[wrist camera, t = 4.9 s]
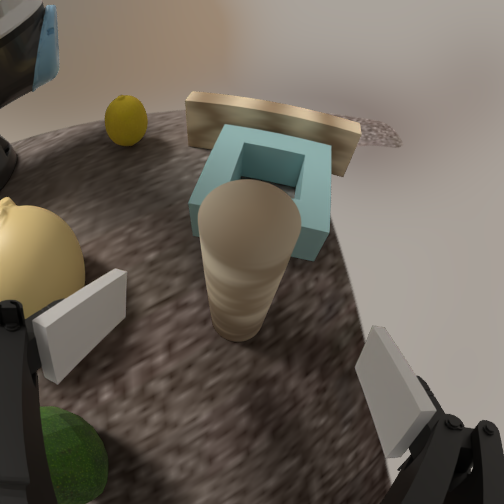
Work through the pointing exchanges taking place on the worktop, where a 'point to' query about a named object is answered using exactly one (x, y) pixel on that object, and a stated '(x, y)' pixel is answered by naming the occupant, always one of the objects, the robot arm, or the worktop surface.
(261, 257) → the dowel
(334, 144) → the oak wall
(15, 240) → the sculpture
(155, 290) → the worktop surface
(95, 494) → the avocado
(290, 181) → the socket block
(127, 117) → the lemon
